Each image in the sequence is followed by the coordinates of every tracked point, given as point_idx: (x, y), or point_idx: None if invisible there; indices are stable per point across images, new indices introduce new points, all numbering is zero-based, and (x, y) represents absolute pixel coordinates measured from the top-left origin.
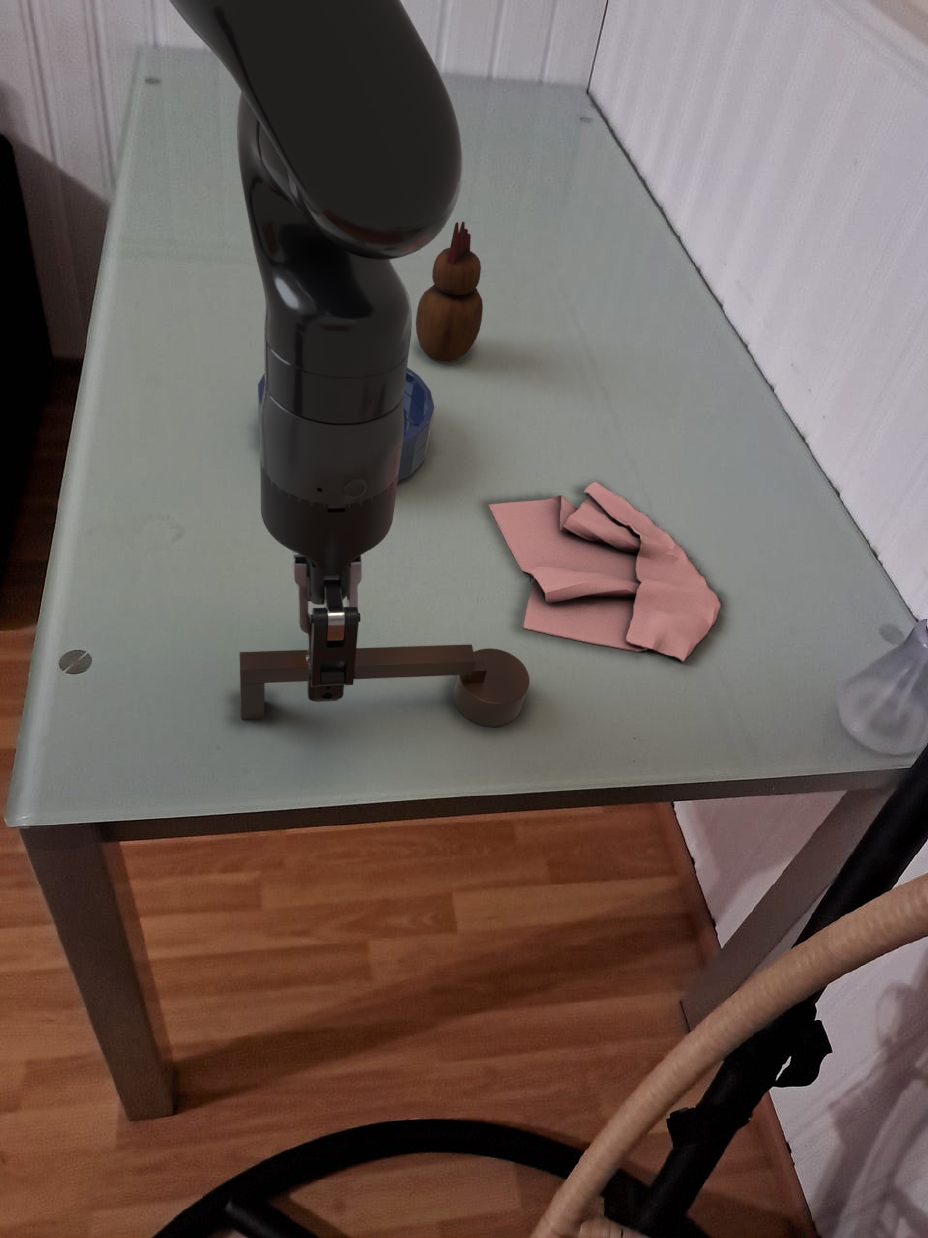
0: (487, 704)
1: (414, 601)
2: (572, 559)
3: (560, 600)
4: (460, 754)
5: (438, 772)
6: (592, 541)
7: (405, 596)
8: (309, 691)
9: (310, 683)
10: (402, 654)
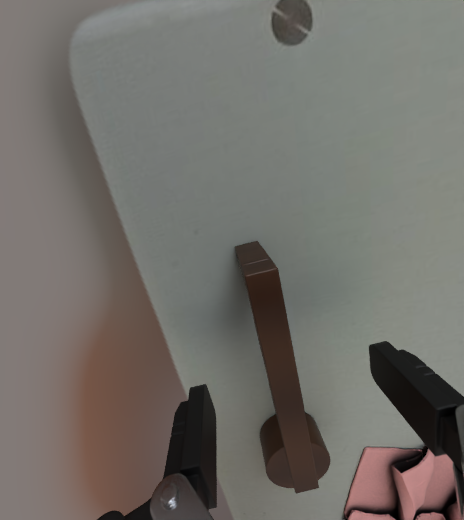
0: (266, 462)
1: None
2: (441, 472)
3: (394, 477)
4: (229, 420)
5: None
6: None
7: None
8: (188, 402)
9: (186, 420)
10: (297, 436)
